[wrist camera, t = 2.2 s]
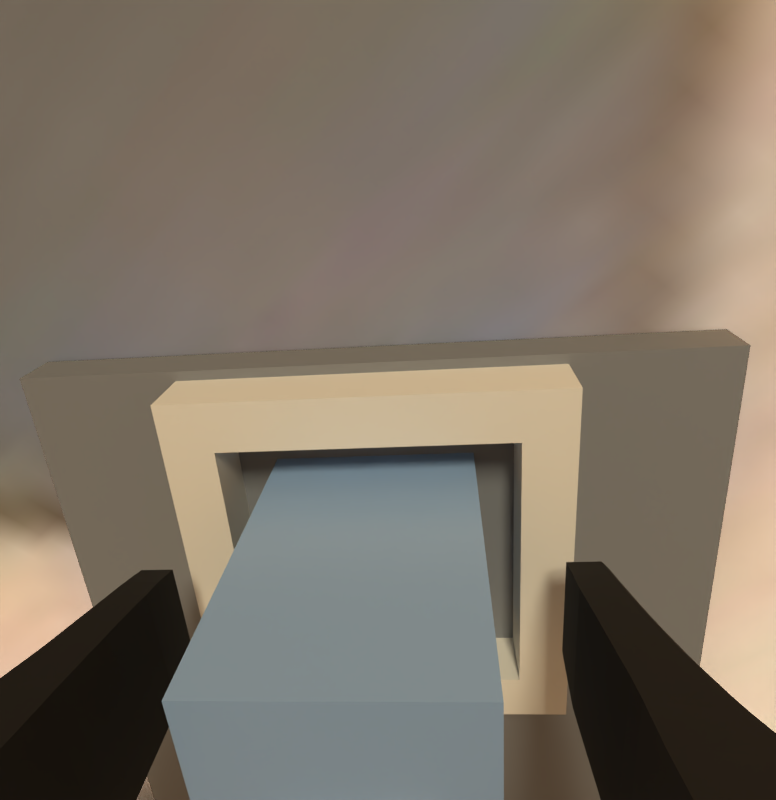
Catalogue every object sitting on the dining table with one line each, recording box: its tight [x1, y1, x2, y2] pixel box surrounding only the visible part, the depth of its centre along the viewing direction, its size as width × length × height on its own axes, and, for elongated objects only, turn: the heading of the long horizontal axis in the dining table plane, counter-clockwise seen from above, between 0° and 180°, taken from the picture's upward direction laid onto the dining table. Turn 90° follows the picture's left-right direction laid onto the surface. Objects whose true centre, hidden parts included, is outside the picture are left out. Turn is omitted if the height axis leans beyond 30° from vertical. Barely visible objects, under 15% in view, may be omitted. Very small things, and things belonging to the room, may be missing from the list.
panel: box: [20, 329, 750, 800], centre depth 16 cm, size 14×22×2 cm, turn 4°
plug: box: [162, 453, 504, 800], centre depth 11 cm, size 4×4×7 cm
